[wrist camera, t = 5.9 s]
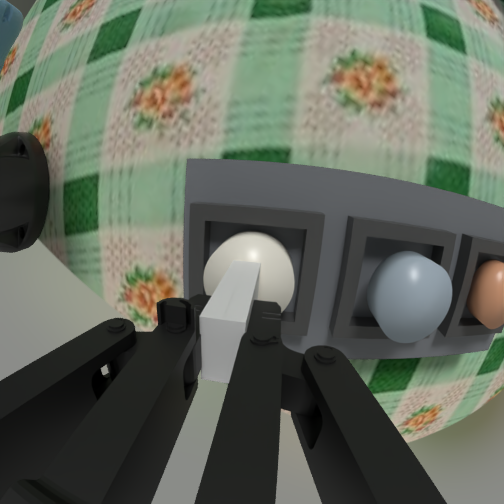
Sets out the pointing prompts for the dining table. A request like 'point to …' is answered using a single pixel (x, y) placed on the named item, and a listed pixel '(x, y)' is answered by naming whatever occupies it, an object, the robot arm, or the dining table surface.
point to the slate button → (409, 296)
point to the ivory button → (261, 251)
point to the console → (343, 247)
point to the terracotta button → (488, 294)
